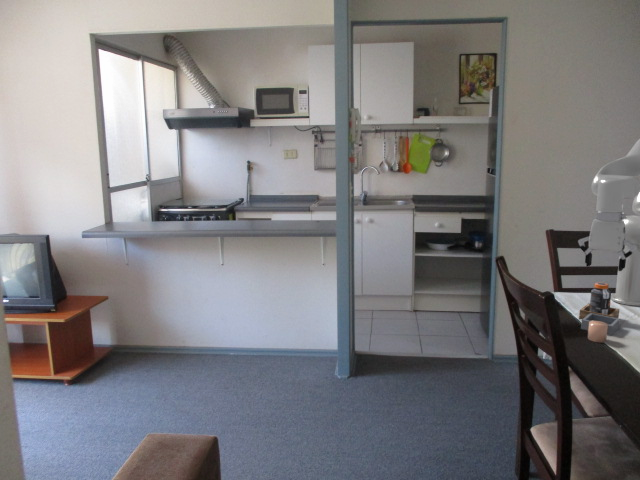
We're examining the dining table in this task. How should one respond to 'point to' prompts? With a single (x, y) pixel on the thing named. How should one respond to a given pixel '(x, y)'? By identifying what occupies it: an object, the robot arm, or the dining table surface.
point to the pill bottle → (600, 299)
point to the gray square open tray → (612, 322)
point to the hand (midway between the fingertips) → (604, 267)
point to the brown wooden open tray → (585, 312)
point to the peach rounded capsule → (597, 331)
